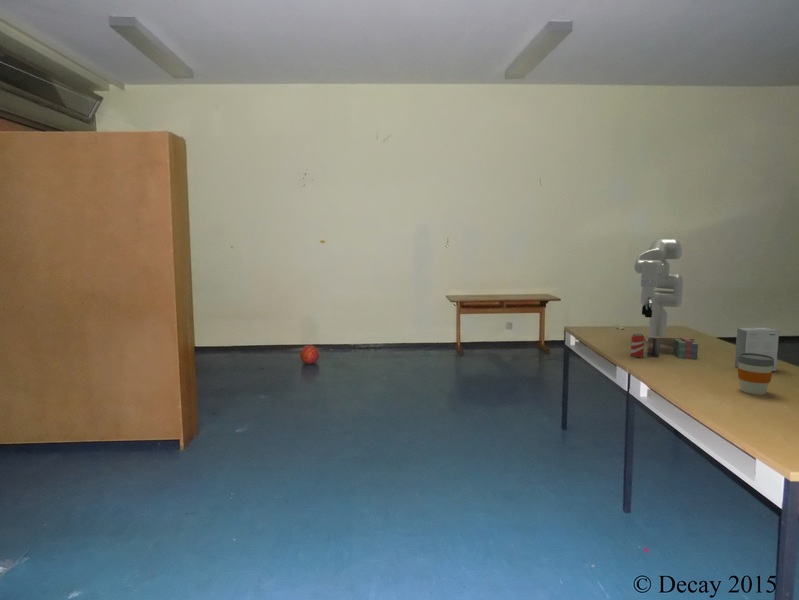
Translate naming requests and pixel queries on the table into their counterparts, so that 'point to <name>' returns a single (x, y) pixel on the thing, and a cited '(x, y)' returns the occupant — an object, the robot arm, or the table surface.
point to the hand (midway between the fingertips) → (646, 316)
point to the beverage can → (637, 345)
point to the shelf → (675, 346)
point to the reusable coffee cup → (755, 372)
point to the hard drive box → (757, 343)
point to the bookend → (654, 349)
